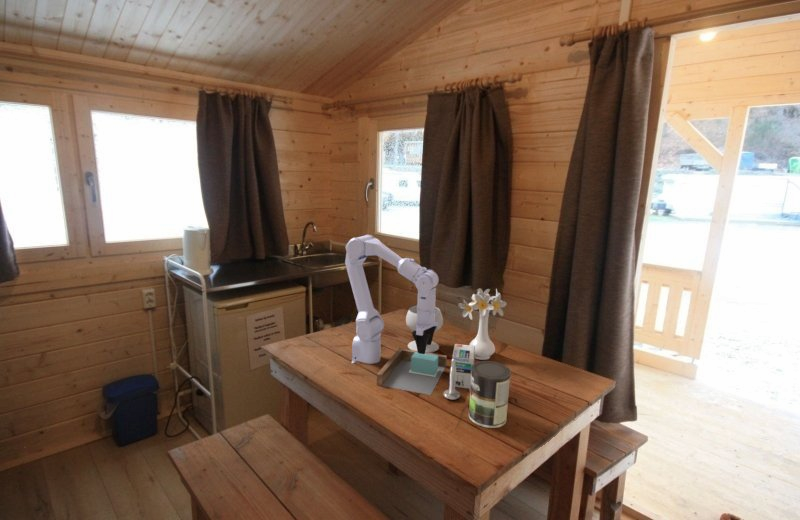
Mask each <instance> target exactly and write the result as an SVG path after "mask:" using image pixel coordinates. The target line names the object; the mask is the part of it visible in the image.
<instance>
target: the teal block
mask: <svg viewBox="0 0 800 520" xmlns="http://www.w3.org/2000/svg"><path fill="white" fill-rule="evenodd" d="M437 370H438V355H432V354H420V353H418V352H415V353H414V354H413V355H412V357H411V372H416V373H422V374H428V375H433V376H435V374H436V372H437Z"/></svg>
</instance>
